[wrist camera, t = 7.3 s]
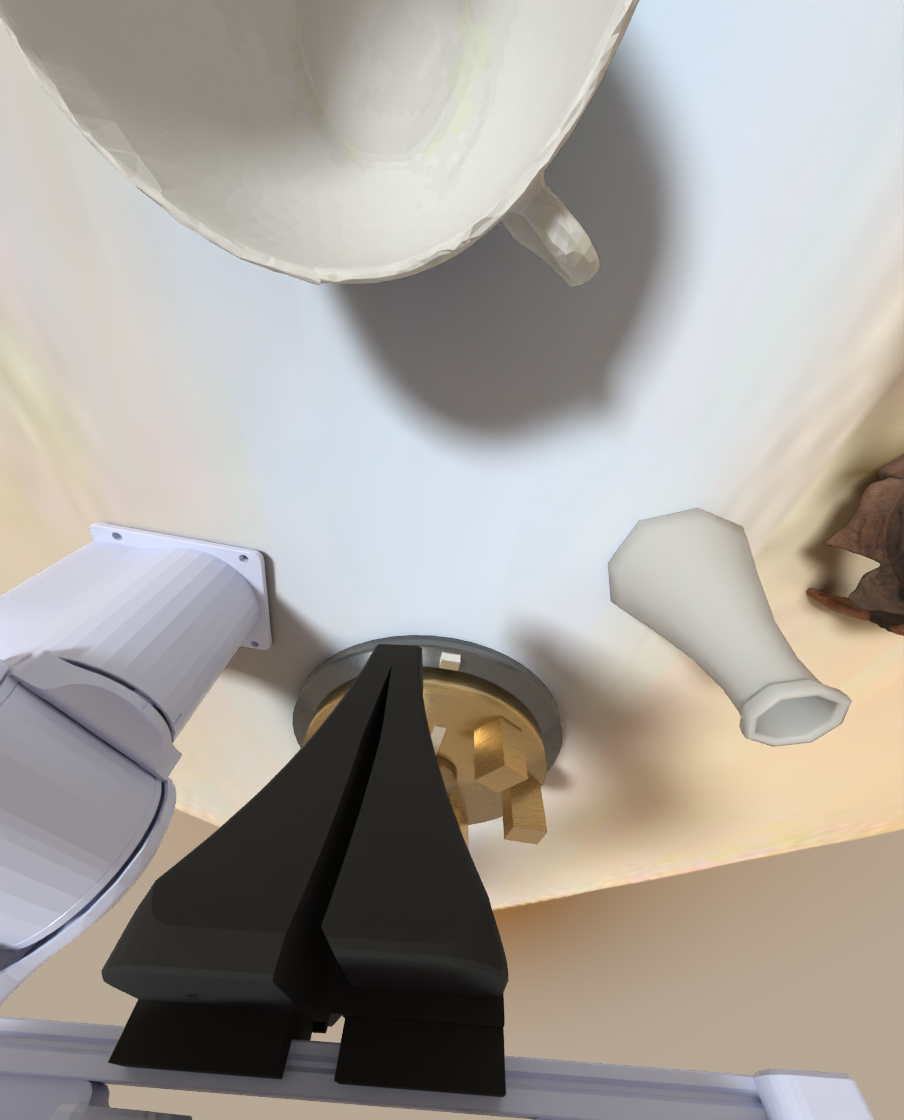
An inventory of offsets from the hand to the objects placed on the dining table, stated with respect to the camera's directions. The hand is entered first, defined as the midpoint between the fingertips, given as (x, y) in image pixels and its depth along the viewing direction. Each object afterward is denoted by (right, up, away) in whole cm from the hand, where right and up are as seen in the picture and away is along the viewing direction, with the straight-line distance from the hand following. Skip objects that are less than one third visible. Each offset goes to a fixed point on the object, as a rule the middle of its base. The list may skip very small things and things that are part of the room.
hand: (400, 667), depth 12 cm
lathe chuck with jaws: (0, -11, +18) cm, 21 cm away
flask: (+14, +3, +10) cm, 17 cm away
